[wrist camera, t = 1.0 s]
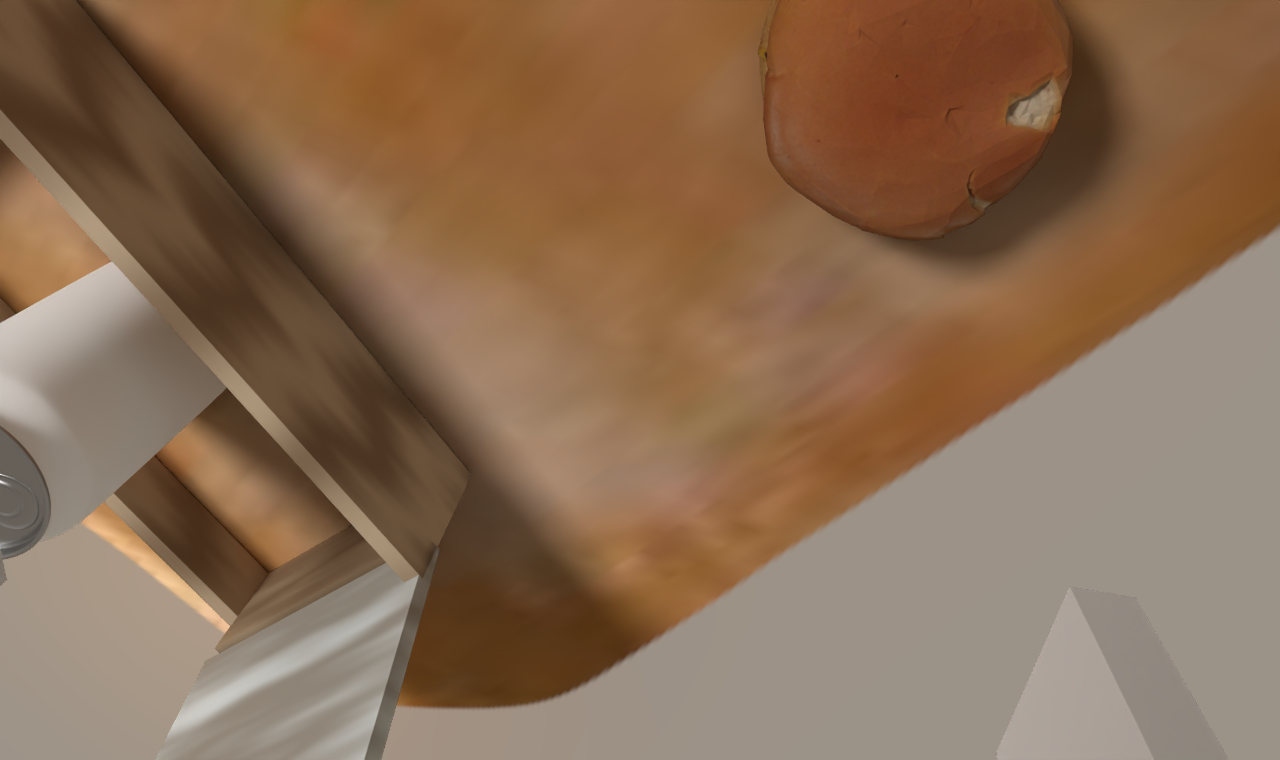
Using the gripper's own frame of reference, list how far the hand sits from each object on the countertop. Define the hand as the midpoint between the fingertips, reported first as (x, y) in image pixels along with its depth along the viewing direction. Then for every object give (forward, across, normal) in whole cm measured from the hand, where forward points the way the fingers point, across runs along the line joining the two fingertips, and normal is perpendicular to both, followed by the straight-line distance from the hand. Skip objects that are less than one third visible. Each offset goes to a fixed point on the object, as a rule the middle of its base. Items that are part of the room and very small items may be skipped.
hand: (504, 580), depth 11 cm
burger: (+25, +8, +4) cm, 26 cm away
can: (+25, -18, -10) cm, 32 cm away
